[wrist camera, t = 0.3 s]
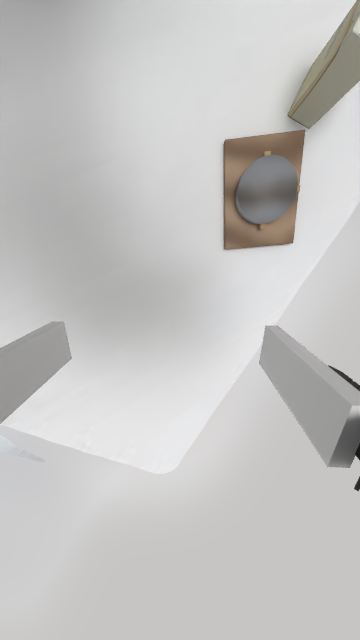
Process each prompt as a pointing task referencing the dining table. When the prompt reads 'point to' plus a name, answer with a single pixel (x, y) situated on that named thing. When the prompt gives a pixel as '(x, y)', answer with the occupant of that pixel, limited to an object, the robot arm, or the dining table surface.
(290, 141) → the bayonet base
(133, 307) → the dining table surface
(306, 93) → the skincare box
